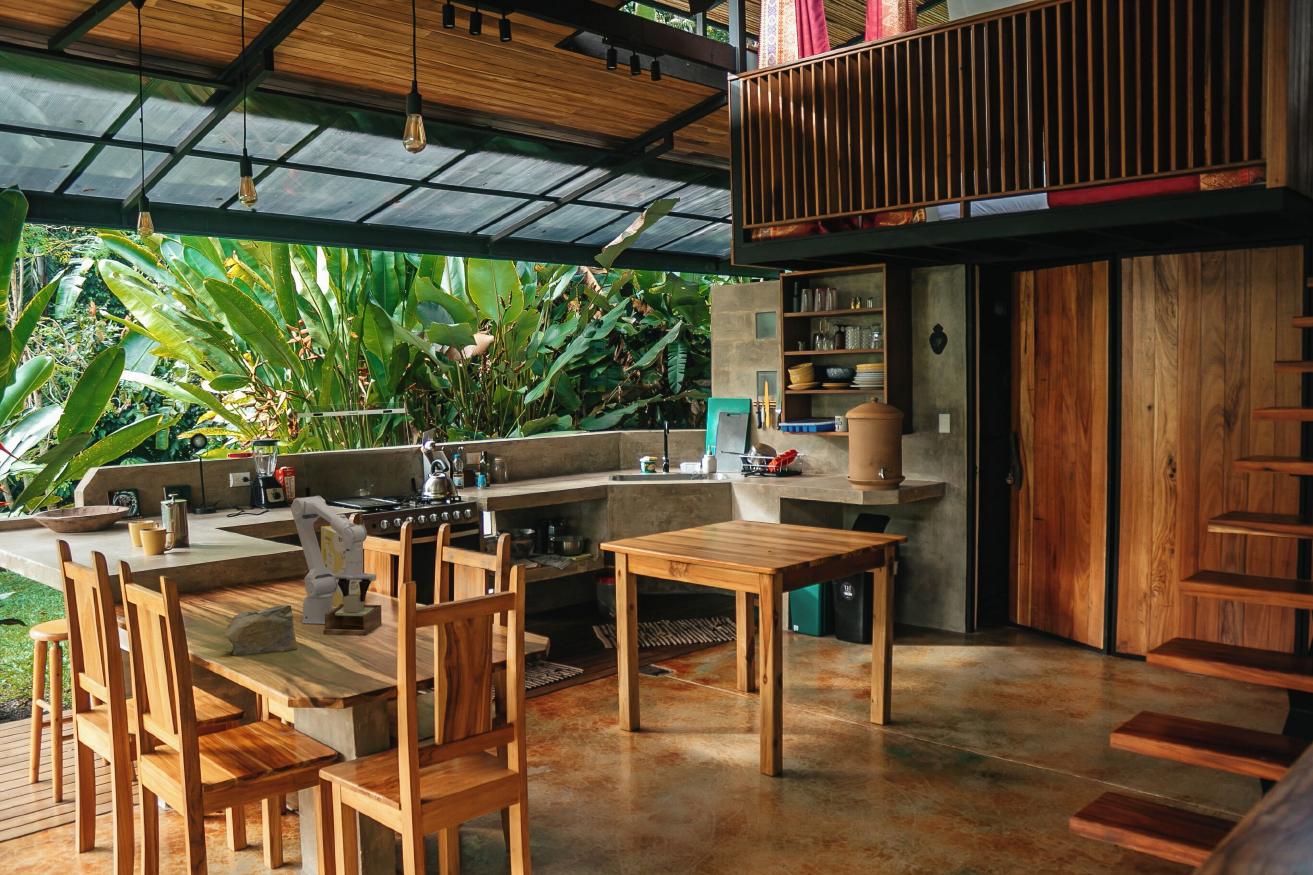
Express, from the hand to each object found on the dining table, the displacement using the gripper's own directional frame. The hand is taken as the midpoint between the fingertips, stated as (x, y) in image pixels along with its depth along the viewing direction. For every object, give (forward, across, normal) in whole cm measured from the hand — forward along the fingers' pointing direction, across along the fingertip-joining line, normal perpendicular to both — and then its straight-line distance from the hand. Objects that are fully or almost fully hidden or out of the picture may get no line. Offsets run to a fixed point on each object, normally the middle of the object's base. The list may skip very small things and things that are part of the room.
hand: (354, 601), depth 328 cm
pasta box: (+10, -21, +40) cm, 46 cm away
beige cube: (0, 0, -1) cm, 1 cm away
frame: (+9, 0, -2) cm, 10 cm away
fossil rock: (+10, -18, -29) cm, 36 cm away
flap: (+4, 0, 0) cm, 4 cm away
